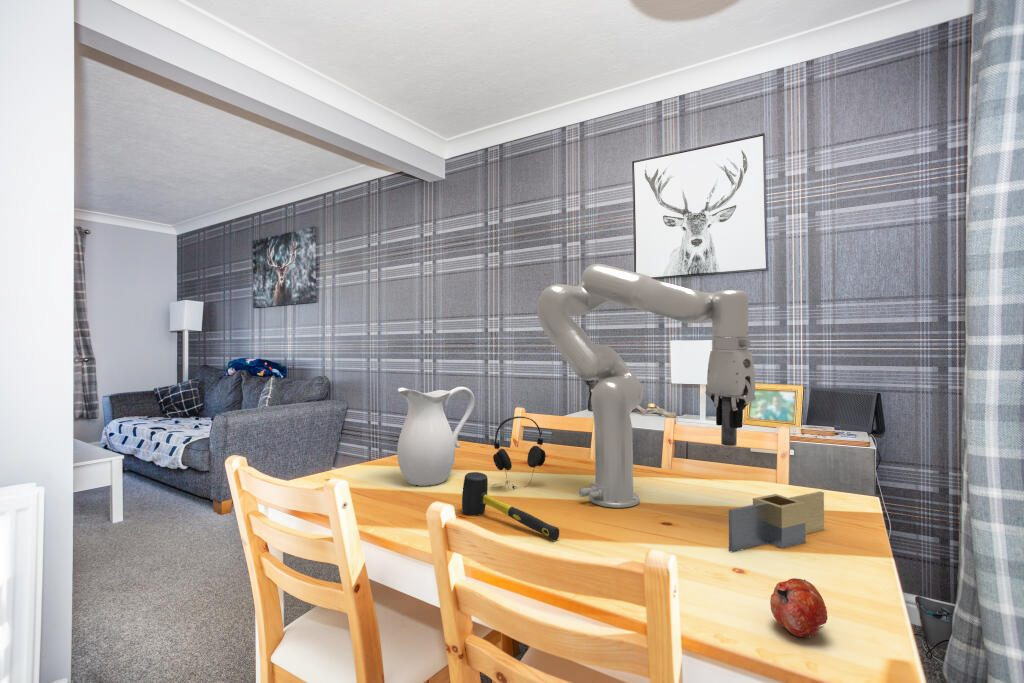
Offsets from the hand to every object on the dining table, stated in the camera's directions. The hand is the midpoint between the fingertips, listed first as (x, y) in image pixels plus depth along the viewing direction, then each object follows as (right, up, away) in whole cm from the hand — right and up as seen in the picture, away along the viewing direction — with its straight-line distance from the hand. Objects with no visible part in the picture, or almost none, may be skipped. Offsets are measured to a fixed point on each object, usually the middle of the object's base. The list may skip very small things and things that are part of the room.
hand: (729, 425), depth 117 cm
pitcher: (-71, -23, +38) cm, 84 cm away
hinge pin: (0, -4, 0) cm, 4 cm away
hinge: (+6, -22, -11) cm, 25 cm away
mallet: (-50, -23, 0) cm, 55 cm away
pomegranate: (-8, -22, -44) cm, 50 cm away
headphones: (-48, -22, +30) cm, 60 cm away
